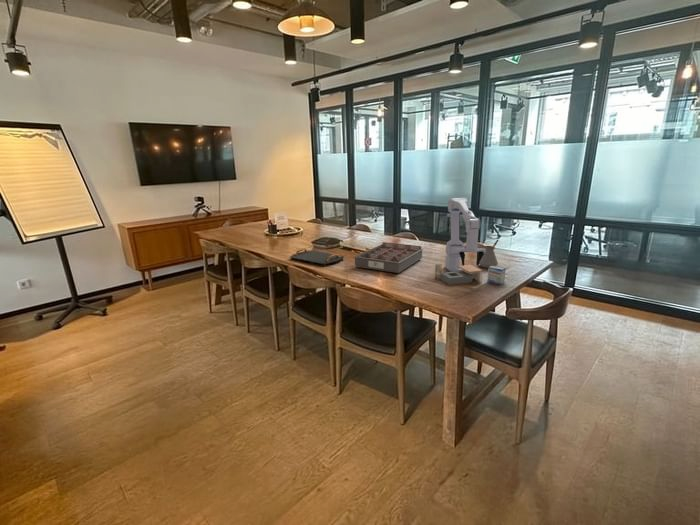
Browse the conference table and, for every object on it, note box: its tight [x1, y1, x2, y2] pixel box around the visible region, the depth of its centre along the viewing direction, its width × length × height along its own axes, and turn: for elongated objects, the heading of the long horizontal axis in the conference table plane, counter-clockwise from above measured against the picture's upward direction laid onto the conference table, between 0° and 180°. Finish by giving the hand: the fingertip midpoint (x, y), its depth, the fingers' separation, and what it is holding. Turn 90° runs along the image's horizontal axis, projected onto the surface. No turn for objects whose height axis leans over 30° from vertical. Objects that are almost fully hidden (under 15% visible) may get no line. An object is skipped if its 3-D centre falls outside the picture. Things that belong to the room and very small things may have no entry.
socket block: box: [440, 270, 474, 286], centre depth 198 cm, size 10×14×4 cm
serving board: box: [289, 248, 345, 268], centre depth 249 cm, size 39×23×6 cm, turn 52°
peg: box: [434, 263, 443, 280], centre depth 203 cm, size 4×4×8 cm
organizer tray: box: [353, 241, 424, 274], centre depth 234 cm, size 32×40×10 cm
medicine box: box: [487, 265, 507, 286], centre depth 193 cm, size 8×4×9 cm, turn 44°
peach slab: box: [458, 264, 483, 283], centre depth 199 cm, size 12×8×7 cm
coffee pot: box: [479, 239, 500, 269], centre depth 224 cm, size 21×12×15 cm, turn 138°
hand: (470, 265), depth 193 cm, fingers open, 7 cm apart
